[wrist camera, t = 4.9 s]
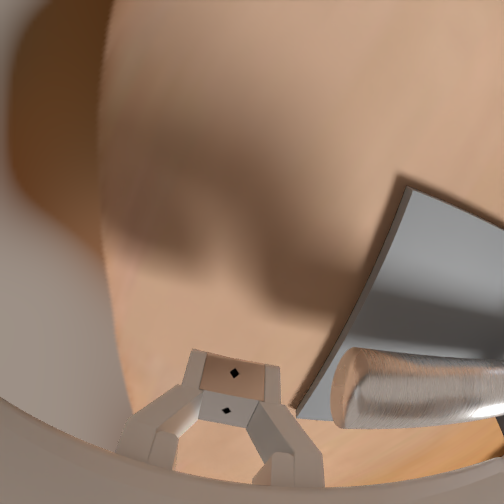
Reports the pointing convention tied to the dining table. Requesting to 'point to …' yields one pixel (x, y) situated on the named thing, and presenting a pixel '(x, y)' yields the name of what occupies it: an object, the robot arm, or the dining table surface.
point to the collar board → (425, 293)
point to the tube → (413, 390)
